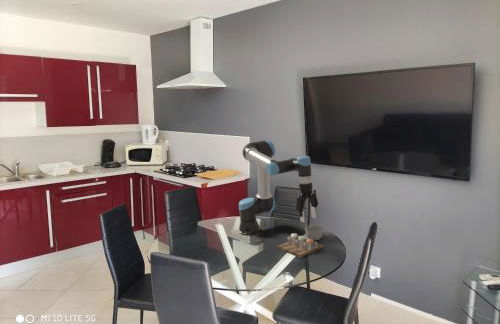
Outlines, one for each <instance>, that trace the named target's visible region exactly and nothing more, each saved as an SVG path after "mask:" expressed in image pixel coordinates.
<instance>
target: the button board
mask: <svg viewBox="0 0 500 324" xmlns="http://www.w3.org/2000/svg"><path fill="white" fill-rule="evenodd" d="M299 236H300V235H297V238H295V239H293V238H291V235H290V236H288V237H287V242H284V243H282V244H280V245H277V249H278V250H280V251H283V252H285V253H287V254H289V255H292V256H295V257H296V258H297V257H298V258H303V257H305V255H306V256H308V255H310V254H312V253H314V252H317V251H319V250H322V249H324V245H323V244H320V243H318V242H317V241H313V244H310V245H309V244H307V241H306V240H307V239H308V238H307V237H305V241H302V242H301V241H299V239H298V237H299ZM307 254H308V255H307Z"/></svg>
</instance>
